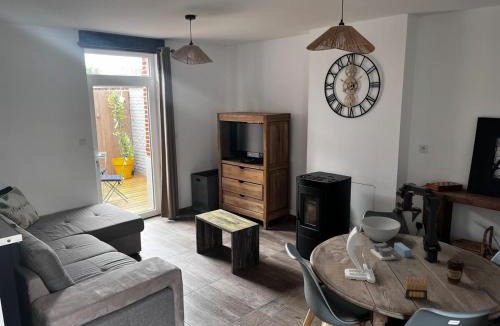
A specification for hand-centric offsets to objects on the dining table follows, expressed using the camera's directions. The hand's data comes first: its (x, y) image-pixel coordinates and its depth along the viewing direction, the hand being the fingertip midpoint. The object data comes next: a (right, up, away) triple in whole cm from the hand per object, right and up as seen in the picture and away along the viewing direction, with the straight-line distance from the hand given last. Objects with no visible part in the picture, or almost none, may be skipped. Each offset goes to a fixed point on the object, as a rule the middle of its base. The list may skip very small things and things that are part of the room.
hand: (406, 222), depth 252 cm
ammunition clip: (-23, -28, -65) cm, 75 cm away
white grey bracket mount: (-23, -18, -16) cm, 33 cm away
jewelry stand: (-45, -23, -36) cm, 62 cm away
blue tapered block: (-9, -18, -14) cm, 24 cm away
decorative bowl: (-15, -13, +10) cm, 23 cm away
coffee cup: (+5, -25, -50) cm, 56 cm away
